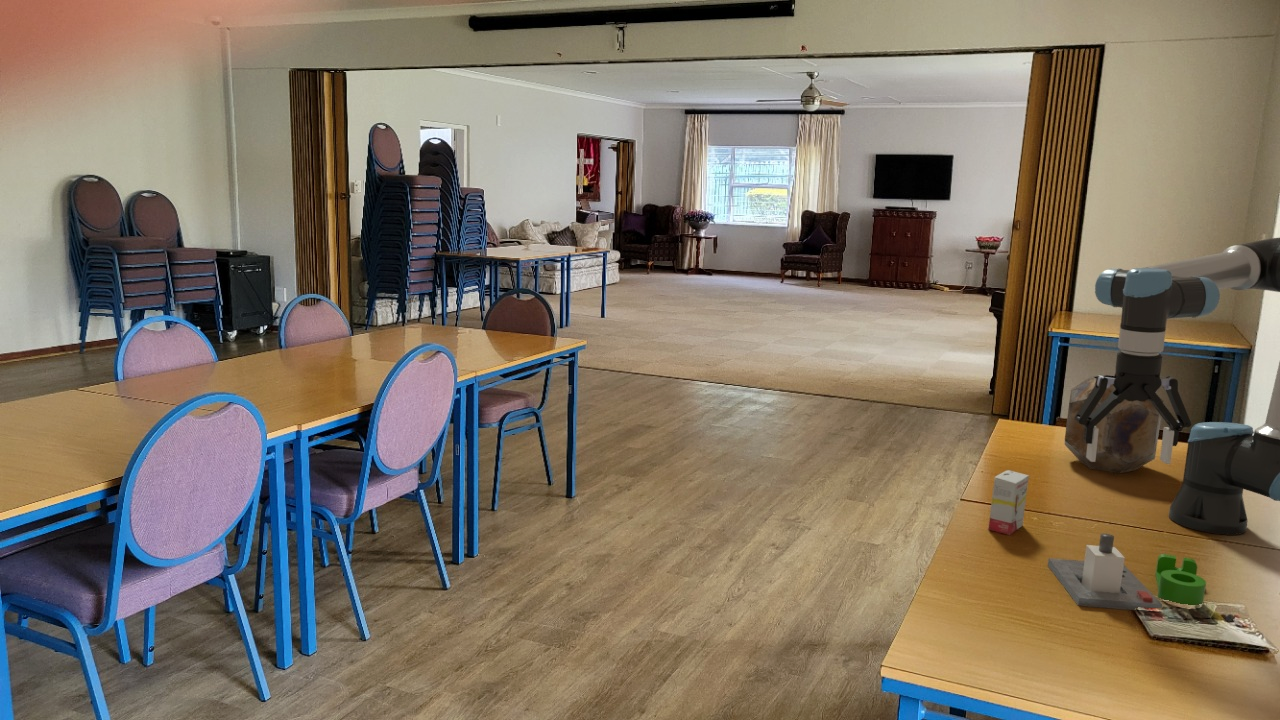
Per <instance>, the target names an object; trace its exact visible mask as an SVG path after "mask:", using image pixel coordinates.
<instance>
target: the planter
mask: <svg viewBox="0 0 1280 720" xmlns="http://www.w3.org/2000/svg"><path fill="white" fill-rule="evenodd" d="M1101 375H1102V376H1104V377H1110V378H1113V377H1114V375H1109V374H1104V375H1103V374H1101ZM1097 376H1098V375H1095V376H1090V377H1088V378H1087V379H1085V380H1084V381H1082V382H1080V383H1079V384H1077V385H1075V386H1074V387H1072V388H1071V390H1070V394H1069V395H1070V396H1069V401H1068V409H1067V410H1068V411H1067V417H1066V426H1065V436H1064V445H1065V447H1066V448H1067V449H1068V450H1069V451H1070V452H1071V453H1072V454H1073V455H1074V456H1075V457H1076V459H1077V460H1078V461H1079V462H1080V463H1082V464H1083V465H1085V466H1086V467H1087V468H1089V469H1091V470H1095V469H1096V471H1101V470H1102V472H1107V471H1109V472H1108V473H1113V472H1114V473H1113V474H1123V473H1124V474H1125V473H1128V472H1134V471H1136V470H1138V469H1140V468H1141V467H1143V466H1145V465H1146V464H1148V463H1150V462H1152V461H1153V460H1155V459H1156V455H1157V454H1156V453H1157V447H1158V440H1159V435H1160V434H1159V433H1160V428H1161V422H1162V421H1161V420H1162V416H1161V415H1160V414H1159V412H1158V411H1157V410H1156V409H1155V407H1154V406H1153V405H1152V403H1151V402H1150V401H1149V400H1146V401H1145V402H1141V401H1138V400H1136V401H1127V400H1124V401H1123V402H1121V403H1119V404H1118V405H1117V406H1116V407H1114V408H1113V409H1112V410H1111V411H1110V412H1109V413H1108V414H1107V415H1106V416H1105V417H1104V418H1103V419H1102V420H1101V421H1100V422H1099V423H1098V424H1097V425H1096V426H1095V427H1097V428H1098V429H1099V432H1098V441H1097V451H1096V460H1095V462H1091V461H1090V460H1089V459H1087V458H1086V453H1087V444H1086V443H1085V442H1084V440H1083V435H1084V425H1081V424H1080V423H1078V422H1077V421H1076V420H1075V419H1074V418H1075V416H1076V414H1077V413H1078V411H1079V410H1080V408H1081V406H1082V405H1083V403H1084V402H1085V400H1086V399H1087V397H1088V396H1089V394H1090V393H1091V391H1092V389H1093V388H1094V386H1095V383H1096V378H1097ZM1114 389H1115V387H1114V386H1113V384H1111V385H1110V386H1109V388H1107V389H1106V391H1105V393H1104V394H1103V396H1102V398H1101V399H1100V401H1099V402H1098V404H1097V405H1096V407H1095V408H1094V410H1095V409H1096V408H1097V407H1098V406H1099V405H1101V404H1102V403H1103V402H1104V401H1105V400H1106V399H1107V398H1108V397H1109V394H1110V393H1111V392H1112V391H1113V390H1114ZM1158 397H1159V398H1160V399H1161V401H1162V403H1163V404H1164V400H1163V399H1162V398H1161V397H1160V395H1158ZM1094 410H1093V411H1094ZM1093 411H1092V412H1093Z"/></svg>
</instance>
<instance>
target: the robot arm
mask: <svg viewBox="0 0 1280 720" xmlns="http://www.w3.org/2000/svg"><path fill="white" fill-rule="evenodd" d="M1094 287H1095V288H1094V295H1095V297H1096V299H1097V300H1098V302H1100V303H1101V304H1104V305H1107V306H1111V307H1113V308H1122V309H1121V319H1120V320H1121V321H1120V324H1119V325H1120V327H1119V333H1118V344H1117V345H1118V346H1117V348H1118V352H1116V362H1115V373H1114V375H1113V376H1114V377H1113V378H1110V377H1104V376H1102V375H1103V374H1098V375H1096V376H1097V378H1096V383H1095V386H1094V388H1093V389H1092V391H1091V393H1090V394H1089V396H1088V397H1087V399H1086V400H1085V402H1084V403H1083V405H1082V406H1081V408H1080V410H1079V411H1078V413H1077V414H1076V416H1075V418H1074V419H1075V420H1076V421H1077V422H1078V423H1080V424H1081V425H1084V435H1083V440H1084V442H1085V443H1086V444H1087V453H1086V458H1087V459H1089V460H1090V461H1091V462H1095V460H1096V451H1097V441H1098V432H1099V429H1098V428H1097V427H1095V426H1096V425H1097V424H1098V423H1099V422H1100V421H1101V420H1102V419H1103V418H1104V417H1105V416H1106V415H1107V414H1108V413H1109V412H1110V411H1111V410H1112V409H1113V408H1114V407H1116V406H1117V405H1118V404H1119V403H1121V402H1123V401H1124V400H1127V401H1136V400H1138V401H1141V402H1145V401H1146V400H1149V401H1150V402H1151V403H1152V405H1153V406H1154V407H1155V409H1156V410H1157V411H1158V412H1159V414H1160V415H1161V419H1163V421H1164V422H1165V423H1166V424H1167V425H1168V426H1169V427H1168V426H1163V430H1162V431H1163V432H1162V440H1161V447H1160V448H1161V449H1160V456H1159V460H1160V461H1161V462H1162V463H1164V464H1165V465H1171V462H1172V452H1173V447H1177V446H1178V443H1179V436H1180V432H1183V429H1184V428H1190V427H1191V426H1192V421H1191V418H1190V417H1189V414H1188V412H1187V409H1186V407H1185V405H1184V403H1183V400H1182V397H1181V395H1180V393H1179V386H1178V385H1179V380H1178V379H1176V378H1174V377H1171V376H1170V375H1169V376H1167V377H1165V378H1161V377H1160V376H1161V372H1162V364H1163V355H1162V352H1164V349H1165V348H1164V347H1165V340H1166V339H1165V337H1166V329H1167V321H1168V320H1169V319H1182V318H1183V319H1185V318H1193V319H1194V318H1195V319H1196V318H1198V317H1202V316H1207V315H1209V314H1211V313H1212V312H1214V311H1215V310H1216V309H1217V307H1218V305H1219V303H1220V296H1221V295H1220V291H1221V290H1226V289H1231V290H1235V291H1244V290H1245V291H1246V290H1263V291H1270V292H1276V293H1280V237H1273V238H1266V239H1261V240H1256V241H1250V242H1245V243H1241V244H1237V245H1236V244H1235V245H1231V246H1229V247H1227V248H1225V249H1224V250H1223V251H1222V252H1219V253H1214V254H1208V255H1204V256H1197V257H1192V258H1188V259H1182V260H1177V261H1172V262H1168V263H1167V262H1166V263H1161V264H1156V265H1152V266H1145V267H1136V268H1131V269H1122V268H1108V269H1105V270H1103V271H1102V272H1101V273H1100V274H1099V275H1098V277H1097V279H1096V280H1095V284H1094ZM1160 353H1161V354H1160ZM1111 384H1113V386H1114V387H1115V389H1114V390H1113V391H1112V392H1111V393H1110V394H1109V397H1108V398H1107V399H1106V400H1105V401H1104V402H1103V403H1102V404H1101V405H1099V406H1098V407H1097V408H1096V409H1095V410H1094V408H1095V407H1096V405H1097V404H1098V402H1099V401H1100V399H1101V398H1102V396H1103V394H1104V393H1105V391H1106V389H1107V388H1109V386H1110V385H1111ZM1160 387H1162V388H1163V389H1164V390H1165V392H1166V394H1167V397H1168V400H1169V402H1170V404H1171V407H1172V409H1173V411H1174V414H1175V416H1176V418H1175V417H1174V415H1173V414H1172V413H1171V412H1170V410H1169V408H1167V406H1166V405H1165V404H1164V402H1163V403H1162V401H1161V399H1162V398H1161V397H1160V396H1159V395H1158V394H1157V393H1156V392H1157V391H1158V390H1159V389H1160ZM1158 396H1159V397H1160V398H1161V399H1160V398H1159V397H1158ZM1093 410H1094V411H1093ZM1092 411H1093V412H1092ZM1244 490H1246V491H1248V492H1252V493H1255V494H1258V495H1261V496H1264V497H1267V498H1270V500H1271V499H1272V500H1273V501H1274V502H1275V501H1276V502H1277V501H1278V502H1280V361H1279V362H1278V367H1277V370H1276V375H1275V380H1274V384H1273V389H1272V393H1271V397H1270V401H1269V405H1268V410H1267V414H1266V418H1265V423H1263V424H1262V425H1261V426H1259V427H1257V428H1255V429H1254V428H1253V426H1251V425H1249V424H1243V423H1237V422H1236V423H1235V422H1225V421H1223V422H1222V421H1219V422H1218V421H1209V422H1208V421H1207V422H1205V421H1203V422H1198V423H1196V424H1194V425H1193V426H1192V427H1191V429H1190V434H1189V437H1188V440H1187V449H1186V457H1185V464H1184V473H1183V479H1182V485H1181V487H1180V488H1179V490H1178V492H1177V493H1176V495H1175V497H1174V499H1173V501H1172V503H1171V504H1170V507H1169V509H1168V510H1169V512H1168V518H1169V519H1170V520H1172V521H1173V522H1174V523H1176V524H1177V525H1180V526H1183V527H1185V528H1189V529H1192V530H1195V531H1199V532H1204V533H1209V534H1216V535H1226V536H1228V535H1229V536H1231V535H1233V536H1234V535H1235V536H1236V535H1241V534H1244V533H1246V531H1247V528H1248V527H1247V526H1248V523H1249V521H1248V515H1247V512H1246V511H1247V510H1246V506H1245V501H1244V497H1243V495H1244Z"/></svg>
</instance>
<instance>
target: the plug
mask: <svg viewBox="0 0 1280 720" xmlns="http://www.w3.org/2000/svg"><path fill="white" fill-rule="evenodd" d="M1114 540H1115V536H1114V535H1113V534H1110V533H1100V538H1099V545H1090V544H1086V546H1085V555H1084V560H1083V561H1084V568H1083V576H1082V583H1081V584H1082V585H1083V586H1084V587H1085V589H1086V590H1087V591H1098V592H1110V593H1120V588H1121V581H1122V574H1123V566H1124V565H1125V559H1126V557H1125V556H1124V555H1123V554H1122V553H1121V552H1120V551H1119V550H1118V549H1117V548H1116V547H1115V546H1114Z"/></svg>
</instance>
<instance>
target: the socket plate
mask: <svg viewBox="0 0 1280 720" xmlns="http://www.w3.org/2000/svg"><path fill="white" fill-rule="evenodd" d="M1047 566H1048V568H1049V569H1050V570H1051V572H1052V573H1053V574H1054V576H1055V577H1056V578H1057V580H1058V581H1059V583H1060V584H1061V586H1062V587H1063V588H1064V589H1065V591H1067V593H1068V594H1069V596H1070V597H1071V598H1072V599H1073V601H1074V602H1075V603H1076V605H1077V606H1079V607H1091V608H1101V609H1102V608H1104V609H1115V610H1124V611H1126V610H1129V611H1135V610H1134V609H1135V608H1138V607H1146V608H1163V607H1162V606H1163V604H1162V603H1161V601H1159V600H1158V598H1156V596H1155V595H1153V593H1152V592H1151V591H1150V590H1149V589H1148V588H1147V587H1146V586H1145V585H1144V584H1143V583H1142V581H1140V580H1139V579H1138V577H1137V576H1136V575H1134V574H1133V572H1132V571H1131V570H1130V569H1129V568H1128V567H1127V565H1125V564H1124V566H1123V574H1122V581H1121V588H1120V593H1110V592H1098V591H1087V590H1086V589H1085V587H1084V586H1083V585H1082V584H1081V583H1082V576H1083V568H1084V560H1077V559H1075V560H1074V559H1064V558H1049V557H1048V561H1047Z"/></svg>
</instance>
